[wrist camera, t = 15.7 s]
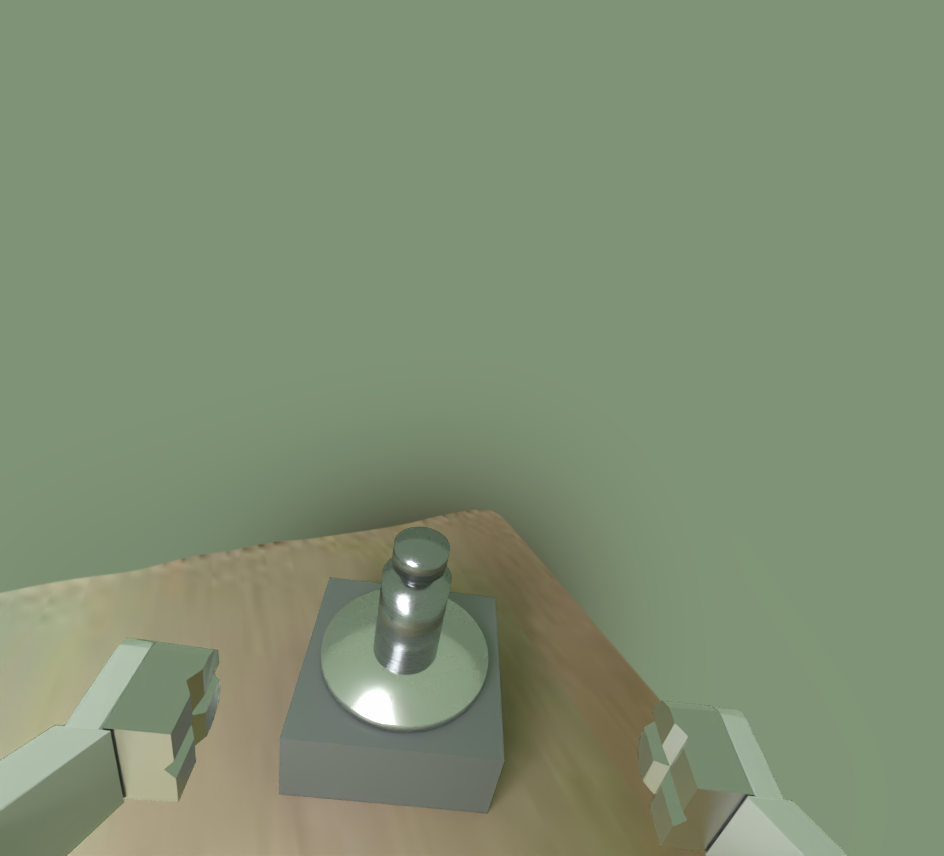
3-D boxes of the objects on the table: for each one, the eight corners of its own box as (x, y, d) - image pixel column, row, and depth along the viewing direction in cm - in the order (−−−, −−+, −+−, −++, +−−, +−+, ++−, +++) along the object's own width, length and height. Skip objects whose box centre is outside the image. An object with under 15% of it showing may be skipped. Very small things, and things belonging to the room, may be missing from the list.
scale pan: (300, 723, 36) (301, 715, 35) (339, 586, 46) (340, 578, 46) (488, 742, 37) (491, 734, 36) (484, 603, 47) (486, 596, 47)
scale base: (279, 794, 37) (279, 738, 35) (327, 623, 50) (331, 572, 48) (487, 812, 39) (504, 760, 36) (483, 641, 51) (495, 592, 49)
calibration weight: (368, 671, 39) (381, 564, 34) (378, 619, 43) (390, 518, 38) (435, 678, 39) (457, 574, 35) (438, 626, 43) (458, 526, 39)
